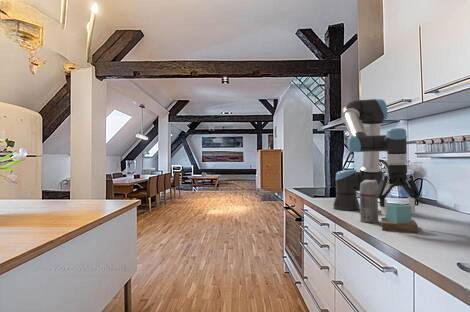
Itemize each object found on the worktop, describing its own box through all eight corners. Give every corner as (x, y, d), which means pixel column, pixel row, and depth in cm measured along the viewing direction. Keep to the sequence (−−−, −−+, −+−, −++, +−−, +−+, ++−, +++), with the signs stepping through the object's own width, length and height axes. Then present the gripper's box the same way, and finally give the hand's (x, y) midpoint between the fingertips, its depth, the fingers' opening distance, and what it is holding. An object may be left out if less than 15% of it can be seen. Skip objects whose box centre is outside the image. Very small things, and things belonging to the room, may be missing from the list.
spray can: (380, 223, 145) (380, 180, 145) (362, 223, 147) (361, 180, 147) (376, 220, 153) (375, 179, 154) (358, 219, 155) (357, 179, 155)
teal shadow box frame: (385, 220, 138) (385, 204, 138) (399, 219, 139) (399, 203, 139) (396, 223, 131) (396, 206, 131) (411, 222, 132) (411, 205, 132)
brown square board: (381, 224, 143) (381, 203, 143) (414, 226, 138) (413, 204, 138) (382, 230, 132) (381, 207, 132) (417, 232, 126) (417, 209, 126)
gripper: (376, 165, 129) (377, 216, 129) (429, 164, 134) (430, 213, 134) (365, 164, 136) (366, 213, 136) (415, 163, 141) (416, 211, 141)
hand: (398, 213), depth 135 cm, fingers open, 13 cm apart
